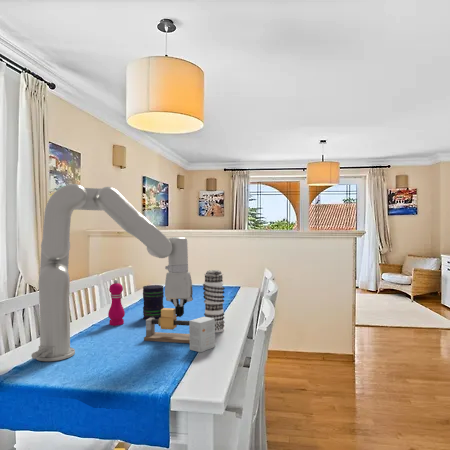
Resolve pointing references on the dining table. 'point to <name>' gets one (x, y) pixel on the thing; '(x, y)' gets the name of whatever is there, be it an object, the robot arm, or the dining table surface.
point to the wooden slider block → (168, 318)
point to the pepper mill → (116, 305)
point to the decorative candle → (214, 298)
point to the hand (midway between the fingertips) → (179, 315)
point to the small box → (202, 334)
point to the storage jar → (153, 301)
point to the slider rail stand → (165, 337)
